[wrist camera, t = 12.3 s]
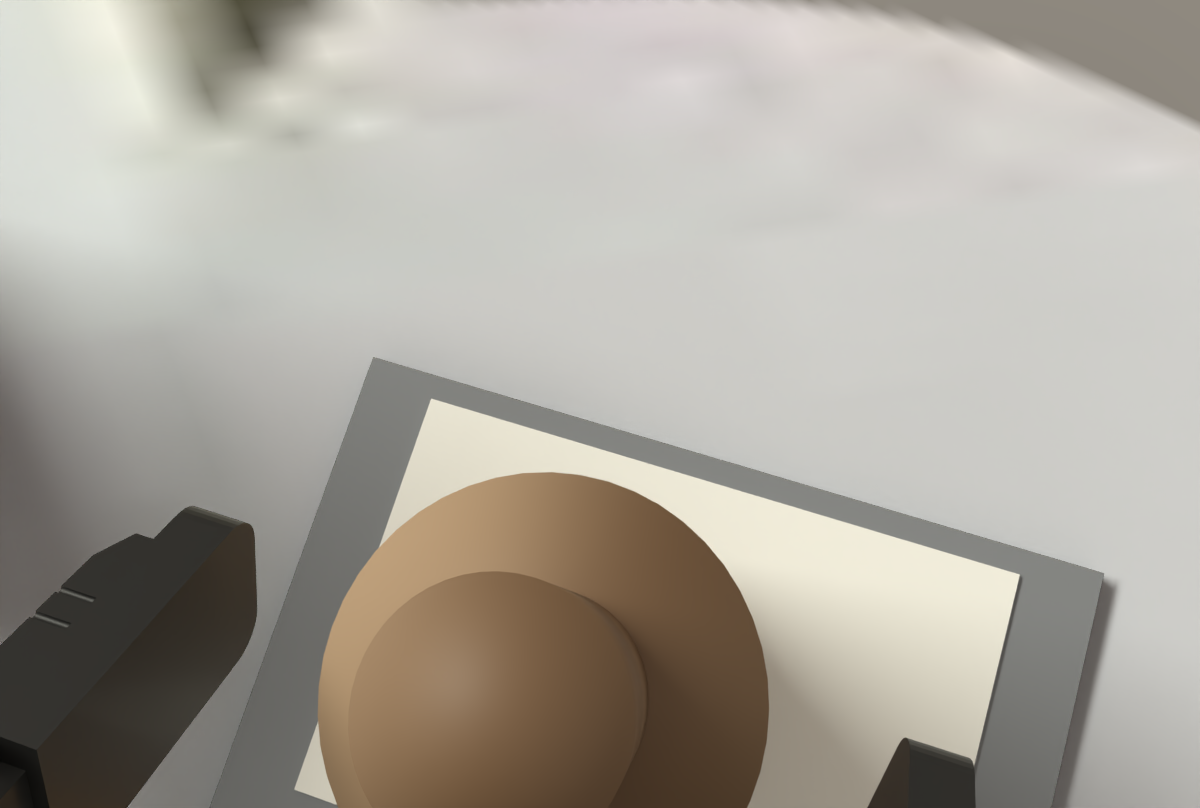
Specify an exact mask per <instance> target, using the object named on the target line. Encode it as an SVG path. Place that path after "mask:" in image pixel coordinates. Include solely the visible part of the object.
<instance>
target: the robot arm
mask: <svg viewBox="0 0 1200 808" xmlns="http://www.w3.org/2000/svg"><path fill="white" fill-rule="evenodd" d="M256 616H257V592H256V564H255V537H254V531H253V528H252V526H251V525H250V524H248V523H245V522H242V521H239V520H236V519H232V518H229V517H226V516H223V515H220V514H217V513H214V512H211V511H208V510H204V509H201V508H198V507H195V506H191V507H188V508H185V509H184V510H182V511H181V512H180V513H179V514H178V515H177V516H176V517H175V518H174V519H173V520H172V521H171V522H170V523H169V524H168V525H167V526H166V527H165V528H164V529H163V530H162V531H161V532H160V533H159V534H158V535H157V536H156V537H155V538H154V539H151V538H148V537H145V536H142V535H139V534H134V535H132V536H130V537H128V538H126V539H124V540H122V541H120V542H118V543H116V544H114V545H112V546H110V547H108V548H107V549H105V550H103V551H101V552H99V553H97V554H95V555H93V556H92V557H91V558H90V559H89V560H88V561H87V562H86V563H85V564H84V565H83V566H82V567H81V568H80V569H79V570H77V571H76V572H75V573H74V574H73V575H72V576H71V577H70V578H69V579H68V580H67V581H66V582H65V583H64V584H63V585H62V588H61V590H60V592H59V593H57V592H55V593H54V594H53V595H52V596H51V597H50V598H49V599H48V600H47V601H46V602H45V603H43V604H42V605H41V606H40V607H39V608H38V609H37V610H36V614H35V616H34V617H33V618H30V617H29V618H28V619H27V620H26V621H25V622H24V623H23V624H22V625H21V626H20V627H19V628H18V629H17V630H16V631H15V632H14V633H13V634H12V635H11V636H9V637H8V638H7V639H6V640H5V641H4V642H3V643H2V644H1V645H0V808H127V807H128V805H129V804H130V803H131V801H132V800H133V799H134V797H135V796H136V795H137V793H138V792H139V791H140V789H141V788H142V787H143V785H144V784H145V783H146V782H147V780H148V779H149V778H150V776H151V775H152V774H153V772H154V771H155V770H156V768H157V767H158V766H159V764H160V763H161V762H162V760H163V759H164V758H165V757H166V755H167V754H168V753H169V751H170V750H171V749H172V747H173V746H174V745H175V743H176V742H177V741H178V739H179V738H180V737H181V735H182V734H183V733H184V732H185V730H186V729H187V728H188V726H189V725H190V724H191V722H192V721H193V720H194V718H195V717H196V716H197V714H198V713H199V712H200V710H201V709H202V708H203V706H204V705H205V704H206V703H207V701H208V700H209V699H210V697H211V696H212V695H213V693H214V692H215V691H216V689H217V688H218V687H219V685H220V684H221V683H222V681H223V680H224V679H225V678H226V676H227V675H228V674H229V672H230V671H231V670H232V668H233V667H234V666H235V664H236V663H237V662H238V660H239V659H240V657H241V656H242V654H243V652H244V651H245V649H246V647H247V645H248V643H249V640H250V638H251V635H252V632H253V629H254V626H255V622H256ZM867 808H976V798H975V769H974V764H973V761H972V760H971V759H970V758H968V757H965V756H962V755H959V754H956V753H952V752H949V751H946V750H943V749H940V748H937V747H934V746H931V745H928V744H924V743H921V742H918V741H915V740H912V739H909V738H903V739H902V740H901V742H900V743H899V745H898V747H897V749H896V751H895V753H894V755H893V757H892V759H891V761H890V763H889V765H888V767H887V769H886V771H885V773H884V775H883V777H882V779H881V781H880V783H879V785H878V787H877V789H876V791H875V793H874V795H873V797H872V799H871V801H870V803H869V805H868V807H867Z"/></svg>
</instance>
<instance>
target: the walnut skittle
mask: <svg viewBox="0 0 1200 808" xmlns="http://www.w3.org/2000/svg"><path fill="white" fill-rule="evenodd" d="M768 719H769V694H768V677H767V672H766V666H765V661H764V655H763V649H762V645H761V642H760V639H759V636H758V633H757V630H756V626H755V623H754V620H753V617H752V615H751V613H750V611H749V609H748V607H747V604H746V602H745V600H744V598H743V596H742V594H741V591H740V590H739V588H738V586H737V585H736V583H735V582H734V580H733V578H732V577H731V575H730V574H729V572H728V570H727V569H726V567H725V566H724V564H723V563H722V562H721V561H720V559H719V558H718V557H717V556H716V555H715V553H714V552H713V551H712V550H711V549H710V547H709V546H708V545H707V544H706V543H705V541H703V540H702V539H701V538H700V537H699V536H698V535H697V534H696V533H695V532H694V531H693V530H692V529H691V528H690V527H688V526H687V525H686V524H685V523H684V522H683V521H682V520H680V519H679V518H677V517H676V516H675V515H673V514H672V513H670V512H669V511H668V510H666V509H665V508H663V507H662V506H661V505H659V504H657V503H655V502H653V501H652V500H650V499H648V498H646V497H644V496H642V495H640V494H638V493H637V492H635V491H632V490H629V489H627V488H624V487H621V486H619V485H616V484H614V483H611V482H608V481H604V480H600V479H596V478H591V477H587V476H583V475H576V474H566V473H556V472H541V473H521V474H515V475H509V476H503V477H497V478H493V479H490V480H486V481H483V482H480V483H476V484H473V485H470V486H467V487H465V488H463V489H461V490H458V491H456V492H454V493H452V494H449V495H447V496H445V497H443V498H441V499H439V500H438V501H436V502H435V503H433V504H431V505H430V506H428V507H426V508H425V509H423V510H421V511H420V512H418V513H417V514H416V515H414V516H413V517H412V518H411V519H409V520H408V521H407V522H406V523H404V524H403V525H402V526H401V527H399V528H398V529H397V530H396V531H395V532H394V533H393V534H392V535H391V536H390V537H389V538H388V539H387V540H386V541H385V542H384V543H383V544H382V545H381V546H380V547H379V548H378V549H377V550H376V551H375V553H374V554H373V555H372V557H371V558H370V559H369V561H368V562H367V563H366V565H365V566H364V567H363V569H362V570H361V571H360V573H359V574H358V575H357V577H356V579H355V581H354V582H353V584H352V586H351V588H350V589H349V591H348V593H347V594H346V596H345V598H344V600H343V602H342V604H341V607H340V609H339V611H338V614H337V616H336V618H335V621H334V623H333V625H332V628H331V632H330V635H329V639H328V642H327V646H326V649H325V653H324V656H323V662H322V669H321V675H320V681H319V694H318V725H319V736H320V747H321V751H322V756H323V760H324V765H325V770H326V774H327V778H328V781H329V784H330V786H331V789H332V792H333V795H334V798H335V800H336V803H337V806H338V808H747V807H748V805H749V803H750V800H751V797H752V795H753V792H754V789H755V786H756V783H757V780H758V777H759V774H760V771H761V767H762V762H763V757H764V752H765V747H766V742H767V732H768Z"/></svg>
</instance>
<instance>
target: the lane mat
mask: <svg viewBox="0 0 1200 808" xmlns="http://www.w3.org/2000/svg"><path fill="white" fill-rule="evenodd" d="M541 472H556V473H566V474H576V475H583V476H587V477H591V478H596V479H600V480H604V481H608V482H611V483H614V484H616V485H619V486H621V487H624V488H627V489H629V490H632V491H635V492H637V493H638V494H640V495H642V496H644V497H646V498H648V499H650V500H652V501H653V502H655V503H657V504H659V505H661V506H662V507H663V508H665V509H666V510H668V511H669V512H670V513H672V514H673V515H675V516H676V517H677V518H679V519H680V520H682V521H683V522H684V523H685V524H686V525H687V526H688V527H690V528H691V529H692V530H693V531H694V532H695V533H696V534H697V535H698V536H699V537H700V538H701V539H702V540H703V541H705V543H706V544H707V545H708V546H709V547H710V549H711V550H712V551H713V552H714V553H715V555H716V556H717V557H718V558H719V559H720V561H721V562H722V563H723V564H724V566H725V567H726V569H727V570H728V572H729V574H730V575H731V577H732V578H733V580H734V582H735V583H736V585H737V586H738V588H739V590H740V591H741V594H742V596H743V598H744V600H745V602H746V604H747V607H748V609H749V611H750V613H751V615H752V617H753V620H754V623H755V626H756V630H757V633H758V636H759V639H760V642H761V645H762V649H763V655H764V661H765V666H766V672H767V677H768V694H769V719H768V732H767V742H766V747H765V752H764V757H763V762H762V767H761V771H760V774H759V777H758V780H757V783H756V786H755V789H754V792H753V795H752V797H751V800H750V803H749V805H748V807H747V808H867V807H868V805H869V803H870V801H871V799H872V797H873V795H874V793H875V791H876V789H877V787H878V785H879V783H880V781H881V779H882V777H883V775H884V773H885V771H886V769H887V767H888V765H889V763H890V761H891V759H892V757H893V755H894V753H895V751H896V749H897V747H898V745H899V743H900V742H901V740H902V739H903V738H909V739H912V740H915V741H918V742H921V743H924V744H928V745H931V746H934V747H937V748H940V749H943V750H946V751H949V752H952V753H956V754H959V755H962V756H965V757H968V758H970V759H971V760H972V761H973V764H974V769H975V798H976V808H1051V807H1052V802H1053V798H1054V794H1055V789H1056V785H1057V780H1058V776H1059V771H1060V767H1061V763H1062V758H1063V754H1064V749H1065V745H1066V740H1067V736H1068V731H1069V727H1070V723H1071V718H1072V714H1073V709H1074V705H1075V700H1076V696H1077V691H1078V687H1079V683H1080V678H1081V674H1082V669H1083V665H1084V660H1085V656H1086V652H1087V647H1088V643H1089V638H1090V634H1091V629H1092V625H1093V620H1094V616H1095V612H1096V607H1097V603H1098V598H1099V594H1100V589H1101V585H1102V580H1103V576H1104V573H1102V572H1098V571H1095V570H1092V569H1088V568H1085V567H1081V566H1078V565H1075V564H1071V563H1068V562H1065V561H1061V560H1058V559H1054V558H1051V557H1048V556H1044V555H1041V554H1037V553H1034V552H1031V551H1027V550H1024V549H1021V548H1017V547H1014V546H1010V545H1007V544H1004V543H1000V542H997V541H993V540H990V539H987V538H983V537H980V536H977V535H973V534H970V533H966V532H963V531H960V530H956V529H953V528H950V527H946V526H943V525H939V524H936V523H933V522H929V521H926V520H922V519H919V518H916V517H912V516H909V515H906V514H902V513H899V512H895V511H892V510H889V509H885V508H882V507H879V506H875V505H872V504H868V503H865V502H862V501H858V500H855V499H851V498H848V497H845V496H841V495H838V494H835V493H831V492H828V491H824V490H821V489H818V488H814V487H811V486H808V485H804V484H801V483H797V482H794V481H791V480H787V479H784V478H780V477H777V476H774V475H770V474H767V473H764V472H760V471H757V470H753V469H750V468H747V467H743V466H740V465H737V464H733V463H730V462H726V461H723V460H720V459H716V458H713V457H709V456H706V455H703V454H699V453H696V452H693V451H689V450H686V449H682V448H679V447H676V446H672V445H669V444H665V443H662V442H659V441H655V440H652V439H649V438H645V437H642V436H638V435H635V434H632V433H628V432H625V431H622V430H618V429H615V428H611V427H608V426H605V425H601V424H598V423H594V422H591V421H588V420H584V419H581V418H578V417H574V416H571V415H567V414H564V413H561V412H557V411H554V410H551V409H547V408H544V407H540V406H537V405H534V404H530V403H527V402H523V401H520V400H517V399H513V398H510V397H507V396H503V395H500V394H496V393H493V392H490V391H486V390H483V389H480V388H476V387H473V386H469V385H466V384H463V383H459V382H456V381H452V380H449V379H446V378H442V377H439V376H436V375H432V374H429V373H425V372H422V371H419V370H415V369H412V368H409V367H405V366H402V365H398V364H395V363H392V362H388V361H385V360H381V359H378V358H375V357H373V359H372V362H371V365H370V368H369V370H368V373H367V376H366V379H365V381H364V384H363V387H362V390H361V392H360V395H359V398H358V401H357V403H356V406H355V409H354V412H353V414H352V417H351V420H350V423H349V425H348V428H347V431H346V434H345V436H344V439H343V442H342V445H341V447H340V450H339V453H338V456H337V458H336V461H335V464H334V467H333V469H332V472H331V475H330V478H329V480H328V483H327V486H326V489H325V491H324V494H323V497H322V500H321V502H320V505H319V508H318V511H317V513H316V516H315V519H314V522H313V524H312V527H311V530H310V533H309V535H308V538H307V541H306V544H305V546H304V549H303V552H302V555H301V557H300V560H299V563H298V566H297V568H296V571H295V574H294V577H293V579H292V582H291V585H290V588H289V590H288V593H287V596H286V599H285V601H284V604H283V607H282V610H281V613H280V615H279V618H278V621H277V624H276V626H275V629H274V632H273V635H272V637H271V640H270V643H269V646H268V648H267V651H266V654H265V657H264V659H263V662H262V665H261V668H260V670H259V673H258V676H257V679H256V681H255V684H254V687H253V690H252V692H251V695H250V698H249V701H248V703H247V706H246V709H245V712H244V714H243V717H242V720H241V723H240V725H239V728H238V731H237V734H236V736H235V739H234V742H233V745H232V747H231V750H230V753H229V756H228V758H227V761H226V764H225V767H224V769H223V772H222V775H221V778H220V780H219V783H218V786H217V789H216V791H215V794H214V797H213V800H212V802H211V805H210V808H338V806H337V803H336V800H335V798H334V795H333V792H332V789H331V786H330V784H329V781H328V778H327V774H326V770H325V765H324V760H323V756H322V751H321V747H320V736H319V725H318V694H319V681H320V675H321V669H322V662H323V656H324V653H325V649H326V646H327V642H328V639H329V635H330V632H331V628H332V625H333V623H334V621H335V618H336V616H337V614H338V611H339V609H340V607H341V604H342V602H343V600H344V598H345V596H346V594H347V593H348V591H349V589H350V588H351V586H352V584H353V582H354V581H355V579H356V577H357V575H358V574H359V573H360V571H361V570H362V569H363V567H364V566H365V565H366V563H367V562H368V561H369V559H370V558H371V557H372V555H373V554H374V553H375V551H376V550H377V549H378V548H379V547H380V546H381V545H382V544H383V543H384V542H385V541H386V540H387V539H388V538H389V537H390V536H391V535H392V534H393V533H394V532H395V531H396V530H397V529H398V528H399V527H401V526H402V525H403V524H404V523H406V522H407V521H408V520H409V519H411V518H412V517H413V516H414V515H416V514H417V513H418V512H420V511H421V510H423V509H425V508H426V507H428V506H430V505H431V504H433V503H435V502H436V501H438V500H439V499H441V498H443V497H445V496H447V495H449V494H452V493H454V492H456V491H458V490H461V489H463V488H465V487H467V486H470V485H473V484H476V483H480V482H483V481H486V480H490V479H493V478H497V477H503V476H509V475H515V474H521V473H541Z"/></svg>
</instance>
